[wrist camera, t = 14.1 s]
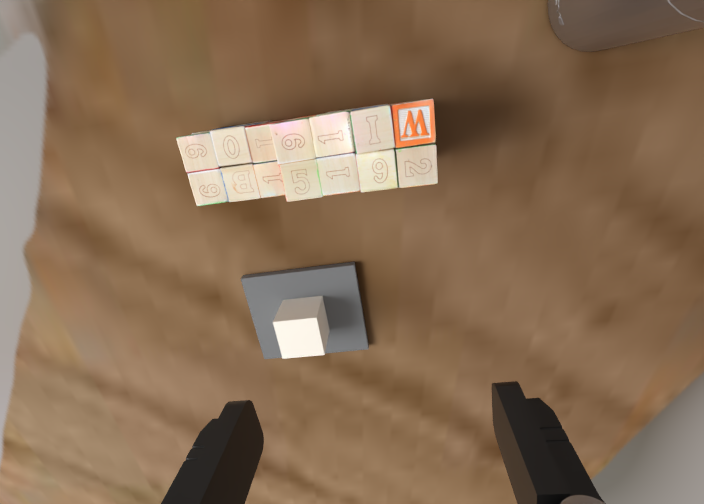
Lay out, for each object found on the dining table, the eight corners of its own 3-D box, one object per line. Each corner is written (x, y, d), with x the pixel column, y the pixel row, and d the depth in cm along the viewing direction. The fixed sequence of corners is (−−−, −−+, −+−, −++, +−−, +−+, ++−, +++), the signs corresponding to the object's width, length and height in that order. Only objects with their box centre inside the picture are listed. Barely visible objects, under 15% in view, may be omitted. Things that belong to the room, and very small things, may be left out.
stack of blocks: (231, 185, 42) (178, 216, 31) (216, 127, 40) (153, 138, 29) (421, 161, 40) (439, 185, 29) (417, 99, 38) (435, 97, 26)
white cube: (322, 295, 46) (316, 317, 41) (329, 330, 48) (324, 354, 43) (282, 299, 46) (272, 322, 42) (291, 333, 48) (282, 358, 43)
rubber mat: (354, 261, 45) (354, 265, 44) (368, 344, 49) (368, 349, 48) (243, 275, 46) (240, 278, 45) (266, 354, 51) (264, 359, 50)
